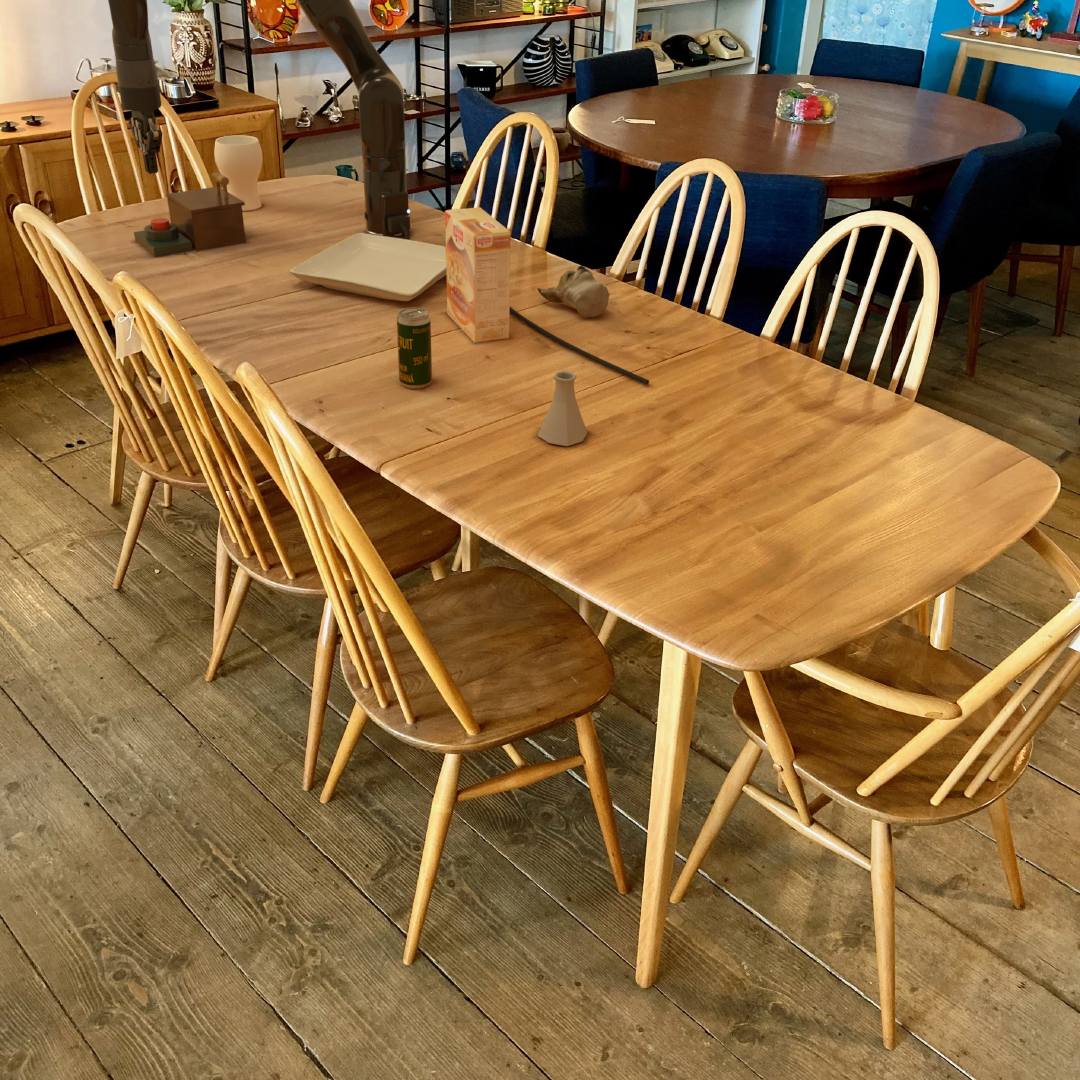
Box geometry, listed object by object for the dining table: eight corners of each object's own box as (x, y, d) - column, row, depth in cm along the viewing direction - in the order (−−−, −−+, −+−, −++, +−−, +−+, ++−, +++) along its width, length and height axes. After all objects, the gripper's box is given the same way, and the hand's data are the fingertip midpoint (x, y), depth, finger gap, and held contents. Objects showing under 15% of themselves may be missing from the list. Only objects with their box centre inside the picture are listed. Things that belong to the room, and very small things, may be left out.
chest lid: (219, 189, 243) (216, 165, 240) (244, 205, 234) (242, 180, 231) (166, 197, 237) (163, 172, 234) (191, 213, 228) (187, 188, 225)
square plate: (288, 288, 216) (286, 269, 213) (359, 248, 237) (358, 230, 235) (412, 311, 207) (411, 291, 205) (473, 267, 229) (473, 249, 227)
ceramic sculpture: (577, 279, 199) (534, 259, 210) (576, 326, 203) (534, 304, 214) (626, 271, 204) (581, 252, 215) (623, 317, 208) (580, 296, 219)
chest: (220, 225, 247) (216, 190, 242) (246, 242, 238) (241, 206, 233) (172, 233, 241) (166, 197, 237) (196, 251, 232) (191, 213, 228)
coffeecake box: (445, 313, 207) (443, 209, 196) (481, 309, 209) (481, 206, 199) (473, 343, 196) (472, 234, 185) (510, 338, 198) (512, 230, 187)
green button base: (192, 250, 232) (190, 231, 230) (155, 257, 228) (152, 238, 226) (171, 235, 240) (169, 216, 238) (135, 241, 236) (132, 222, 234)
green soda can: (416, 373, 184) (413, 304, 178) (439, 382, 182) (437, 313, 175) (392, 382, 181) (389, 313, 174) (415, 392, 178) (413, 322, 172)
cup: (256, 214, 254) (248, 147, 246) (213, 210, 256) (204, 143, 248) (274, 202, 263) (268, 136, 255) (233, 198, 265) (225, 133, 257)
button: (172, 230, 232) (171, 221, 231) (155, 232, 230) (154, 224, 229) (166, 225, 234) (165, 216, 233) (149, 228, 233) (148, 219, 232)
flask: (556, 420, 171) (558, 360, 166) (595, 433, 168) (599, 373, 163) (529, 437, 166) (530, 376, 161) (569, 451, 163) (572, 390, 158)
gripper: (169, 86, 214) (182, 177, 224) (145, 74, 223) (158, 162, 232) (130, 90, 210) (145, 182, 220) (107, 77, 219) (122, 167, 229)
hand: (152, 172), depth 226 cm, fingers closed
